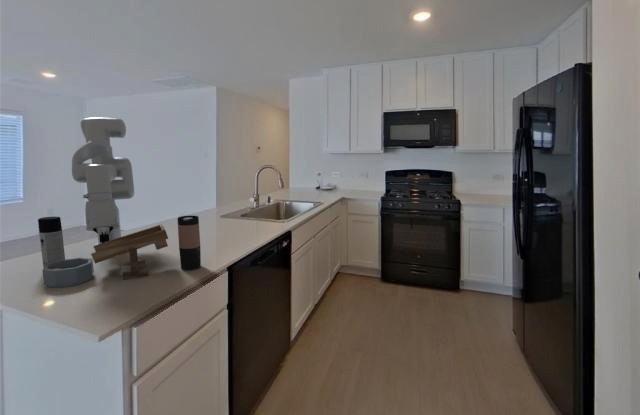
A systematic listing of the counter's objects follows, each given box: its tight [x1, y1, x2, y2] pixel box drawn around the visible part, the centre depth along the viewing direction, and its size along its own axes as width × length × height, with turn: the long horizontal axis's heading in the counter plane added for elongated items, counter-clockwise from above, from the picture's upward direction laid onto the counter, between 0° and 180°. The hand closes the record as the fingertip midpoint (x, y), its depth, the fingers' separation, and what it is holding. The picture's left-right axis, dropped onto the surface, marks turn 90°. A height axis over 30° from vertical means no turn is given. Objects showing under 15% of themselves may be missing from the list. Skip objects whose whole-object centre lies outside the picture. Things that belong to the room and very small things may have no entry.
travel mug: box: [177, 215, 202, 271], centre depth 125 cm, size 8×8×20 cm
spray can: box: [37, 216, 66, 268], centre depth 122 cm, size 7×7×20 cm
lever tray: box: [90, 223, 169, 264], centre depth 125 cm, size 20×24×7 cm
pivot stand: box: [121, 248, 149, 281], centre depth 122 cm, size 18×8×10 cm, turn 31°
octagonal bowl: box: [42, 257, 95, 289], centre depth 112 cm, size 13×13×6 cm
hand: (104, 243), depth 126 cm, fingers closed
